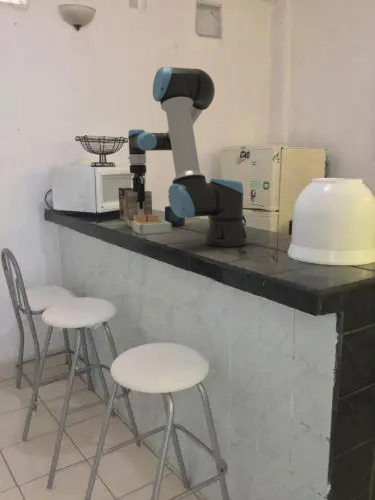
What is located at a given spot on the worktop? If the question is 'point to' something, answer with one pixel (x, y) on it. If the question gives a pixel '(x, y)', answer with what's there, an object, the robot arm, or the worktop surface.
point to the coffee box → (123, 202)
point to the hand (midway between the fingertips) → (139, 215)
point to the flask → (173, 217)
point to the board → (130, 223)
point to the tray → (152, 228)
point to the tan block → (133, 204)
